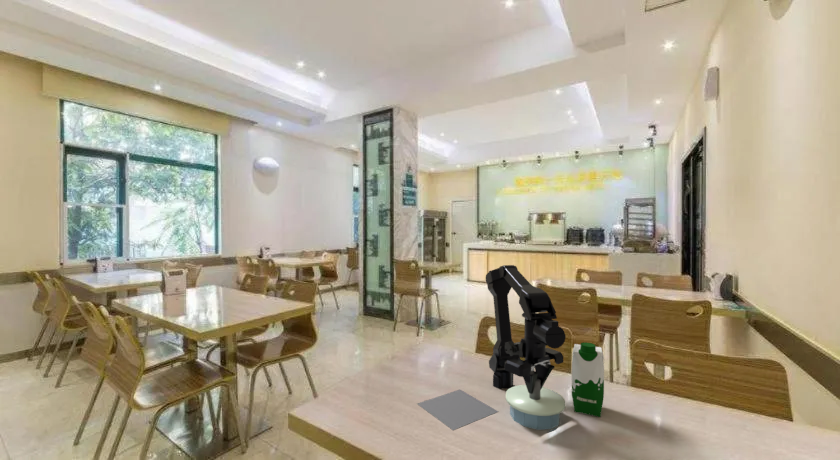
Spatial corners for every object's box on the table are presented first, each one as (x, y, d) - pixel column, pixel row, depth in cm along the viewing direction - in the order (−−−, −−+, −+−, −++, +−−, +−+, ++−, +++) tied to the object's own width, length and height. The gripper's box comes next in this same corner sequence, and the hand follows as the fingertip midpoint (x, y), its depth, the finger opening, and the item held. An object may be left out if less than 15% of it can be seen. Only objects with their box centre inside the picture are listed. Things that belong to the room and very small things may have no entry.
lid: (530, 383, 114) (530, 364, 114) (577, 404, 100) (577, 383, 100) (493, 397, 105) (493, 376, 105) (540, 422, 91) (540, 398, 91)
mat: (459, 392, 119) (460, 389, 119) (498, 414, 105) (498, 411, 105) (416, 406, 110) (416, 403, 110) (452, 433, 96) (452, 430, 96)
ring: (530, 403, 112) (530, 387, 112) (568, 423, 101) (569, 405, 101) (501, 416, 104) (501, 399, 104) (538, 438, 94) (539, 419, 94)
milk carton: (570, 412, 106) (571, 344, 106) (572, 399, 115) (572, 336, 114) (604, 419, 103) (605, 349, 102) (603, 405, 111) (603, 340, 111)
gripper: (533, 324, 114) (532, 374, 114) (490, 334, 104) (490, 389, 104) (564, 333, 105) (564, 387, 105) (521, 345, 94) (521, 405, 95)
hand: (534, 391), depth 103 cm, fingers open, 3 cm apart
